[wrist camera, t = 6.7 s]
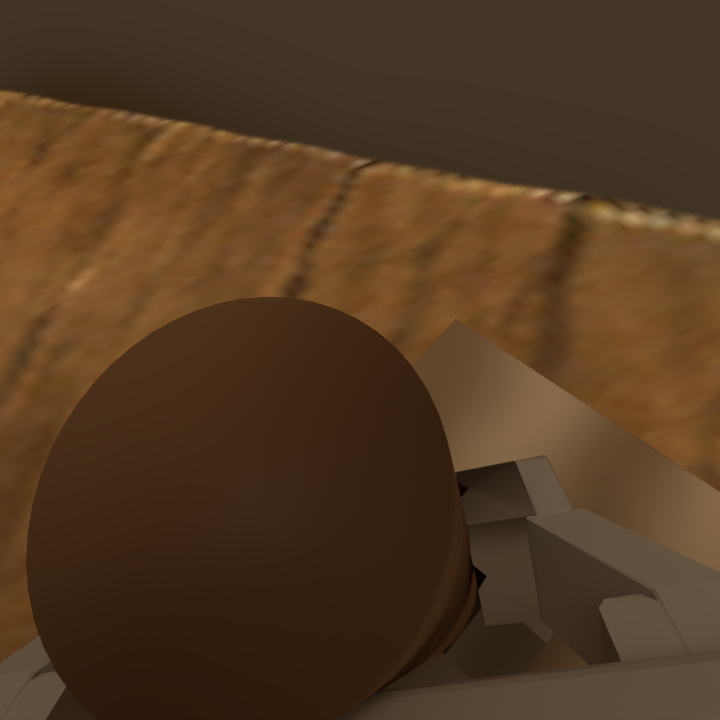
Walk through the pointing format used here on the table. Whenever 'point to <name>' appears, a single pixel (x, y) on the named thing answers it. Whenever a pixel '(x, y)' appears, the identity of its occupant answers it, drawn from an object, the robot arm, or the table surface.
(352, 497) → the brown wooden peg
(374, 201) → the table surface
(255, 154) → the table surface
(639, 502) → the subfloor panel
